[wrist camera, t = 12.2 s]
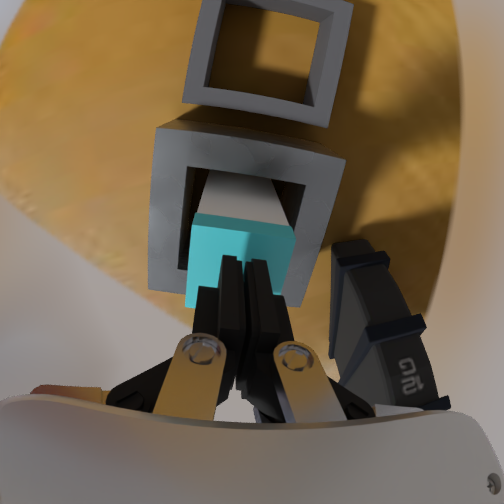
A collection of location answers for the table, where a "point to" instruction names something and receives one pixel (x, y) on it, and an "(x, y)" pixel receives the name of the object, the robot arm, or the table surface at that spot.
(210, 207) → the plug
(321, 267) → the table surface
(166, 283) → the port block
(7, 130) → the table surface
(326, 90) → the grey square frame
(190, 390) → the robot arm
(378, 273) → the magazine
